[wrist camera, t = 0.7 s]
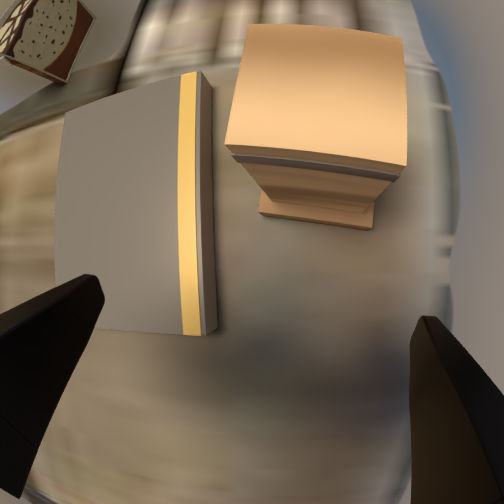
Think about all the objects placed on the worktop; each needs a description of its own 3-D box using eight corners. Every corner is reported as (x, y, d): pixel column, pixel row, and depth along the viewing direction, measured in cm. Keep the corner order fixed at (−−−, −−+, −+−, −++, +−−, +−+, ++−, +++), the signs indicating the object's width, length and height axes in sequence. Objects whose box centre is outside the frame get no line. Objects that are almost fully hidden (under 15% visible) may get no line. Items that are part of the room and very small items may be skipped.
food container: (66, 21, 27) (20, -16, 17) (101, 9, 26) (54, -36, 16) (30, 103, 27) (-30, 73, 17) (62, 95, 26) (-3, 57, 16)
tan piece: (367, 230, 20) (428, 195, 8) (262, 215, 21) (197, 165, 10) (374, 138, 20) (419, 28, 8) (275, 126, 21) (232, 12, 9)
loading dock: (218, 327, 22) (205, 335, 19) (78, 319, 24) (58, 323, 22) (211, 87, 22) (200, 70, 20) (82, 121, 25) (64, 112, 22)
